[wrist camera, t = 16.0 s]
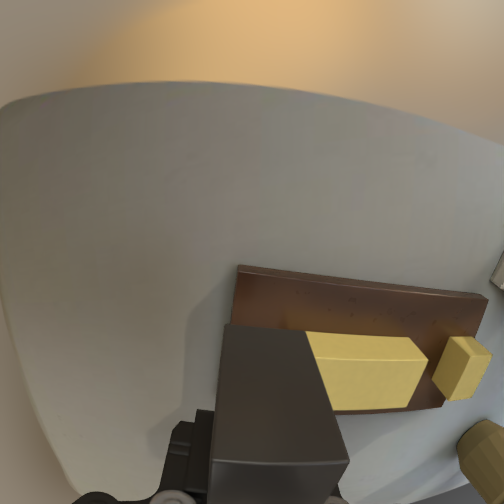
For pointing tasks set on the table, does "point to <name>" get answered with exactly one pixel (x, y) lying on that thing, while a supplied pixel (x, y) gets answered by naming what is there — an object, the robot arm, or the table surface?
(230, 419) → the knife
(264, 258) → the table surface
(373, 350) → the butter
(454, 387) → the butter slice
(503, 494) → the squeeze bottle
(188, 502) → the robot arm
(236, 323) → the board
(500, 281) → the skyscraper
